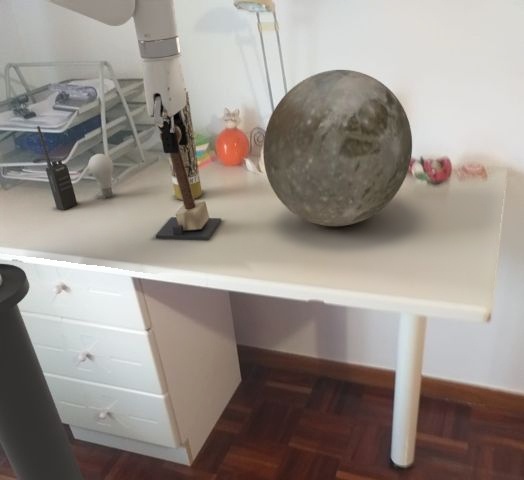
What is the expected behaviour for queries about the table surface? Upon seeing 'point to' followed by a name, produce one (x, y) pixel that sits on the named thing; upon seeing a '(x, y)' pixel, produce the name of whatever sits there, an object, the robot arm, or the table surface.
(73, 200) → the walkie-talkie
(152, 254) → the table surface
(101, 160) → the lightbulb
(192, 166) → the paper tube
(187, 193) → the mallet
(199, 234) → the stand
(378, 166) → the globe
